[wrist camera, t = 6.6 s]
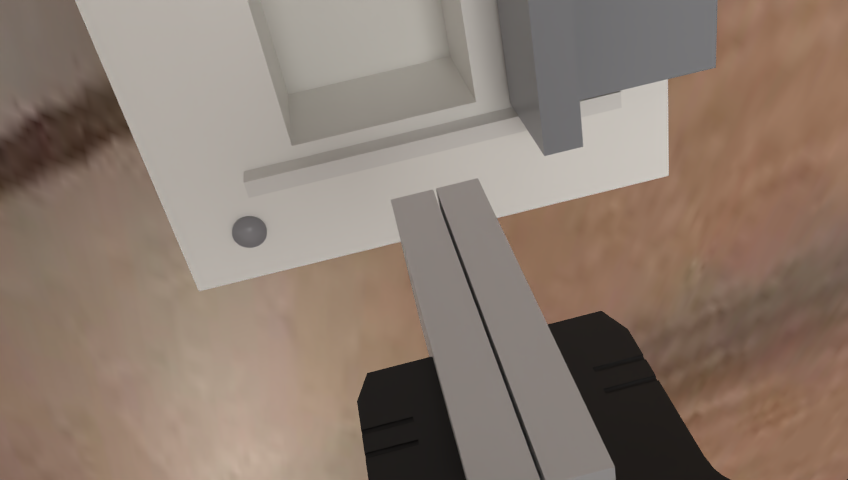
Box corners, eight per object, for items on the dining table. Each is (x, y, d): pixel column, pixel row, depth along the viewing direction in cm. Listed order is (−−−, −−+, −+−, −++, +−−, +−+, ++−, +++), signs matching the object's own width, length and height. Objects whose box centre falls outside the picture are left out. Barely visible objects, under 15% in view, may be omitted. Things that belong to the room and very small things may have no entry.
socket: (37, -208, 25) (-17, -190, 20) (598, -330, 26) (677, -341, 21) (206, 221, 34) (197, 304, 29) (619, 120, 35) (677, 185, 30)
